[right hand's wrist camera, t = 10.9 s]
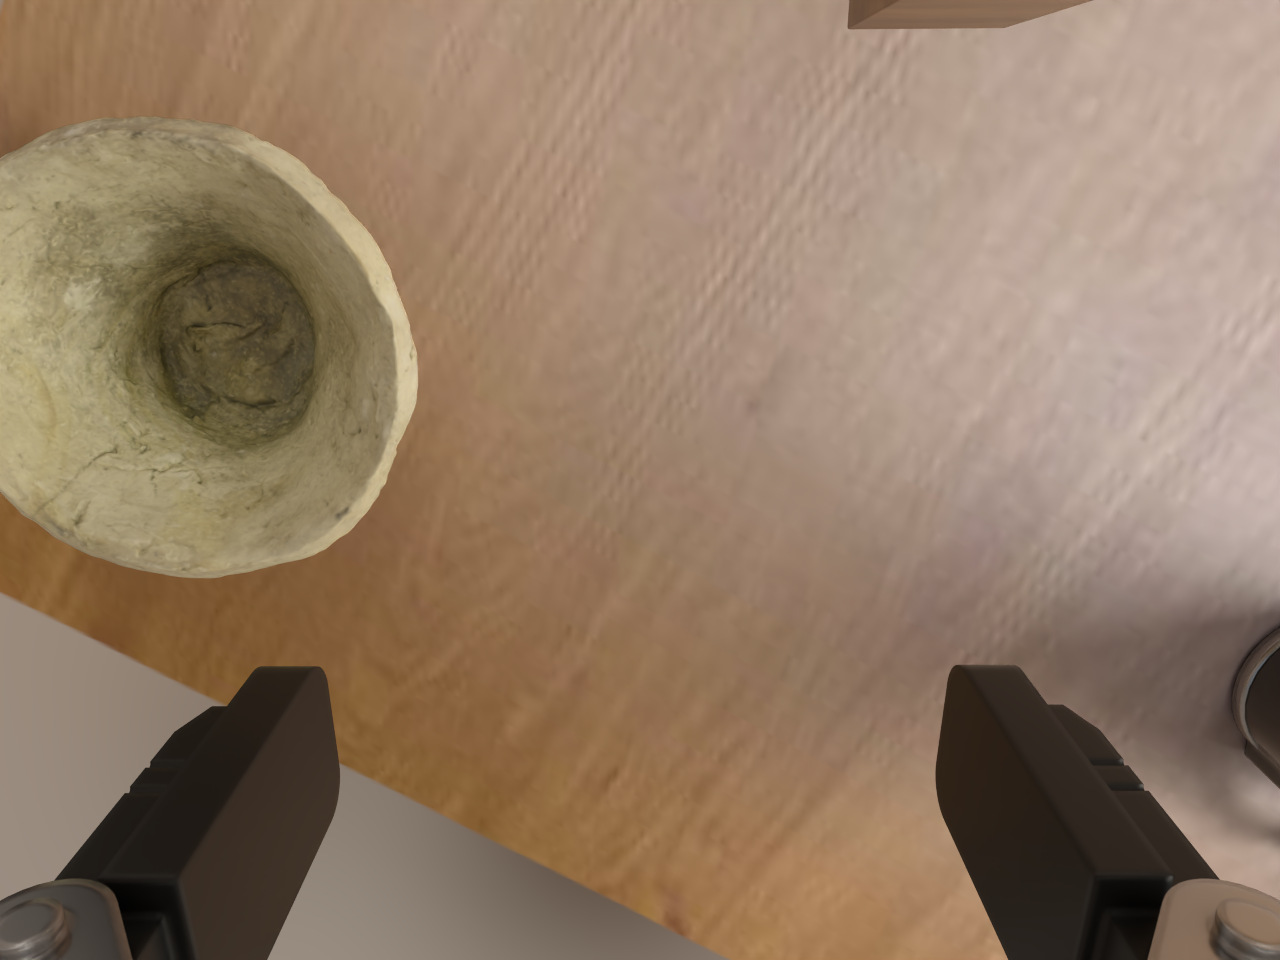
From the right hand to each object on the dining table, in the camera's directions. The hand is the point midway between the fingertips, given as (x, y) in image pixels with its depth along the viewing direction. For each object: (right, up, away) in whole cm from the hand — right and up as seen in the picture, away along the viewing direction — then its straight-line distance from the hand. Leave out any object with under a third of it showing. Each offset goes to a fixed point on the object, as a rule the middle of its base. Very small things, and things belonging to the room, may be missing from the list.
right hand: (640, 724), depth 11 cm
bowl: (-18, +10, +29) cm, 36 cm away
